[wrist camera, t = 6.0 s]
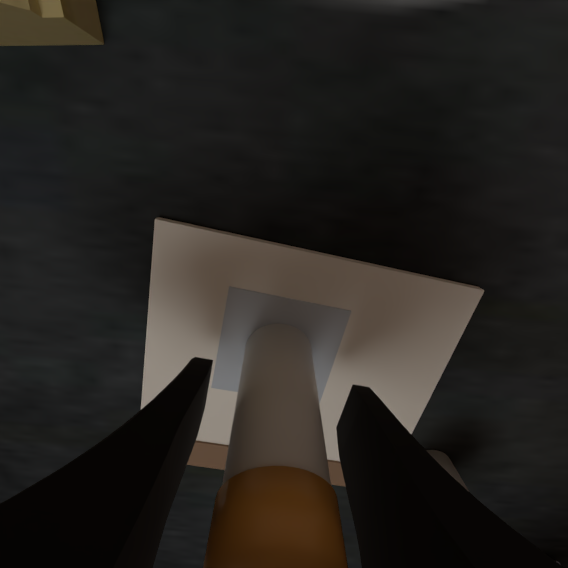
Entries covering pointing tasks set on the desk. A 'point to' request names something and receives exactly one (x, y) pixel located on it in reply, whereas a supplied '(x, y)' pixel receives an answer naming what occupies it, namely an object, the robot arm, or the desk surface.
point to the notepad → (295, 325)
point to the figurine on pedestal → (49, 22)
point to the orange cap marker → (276, 465)
